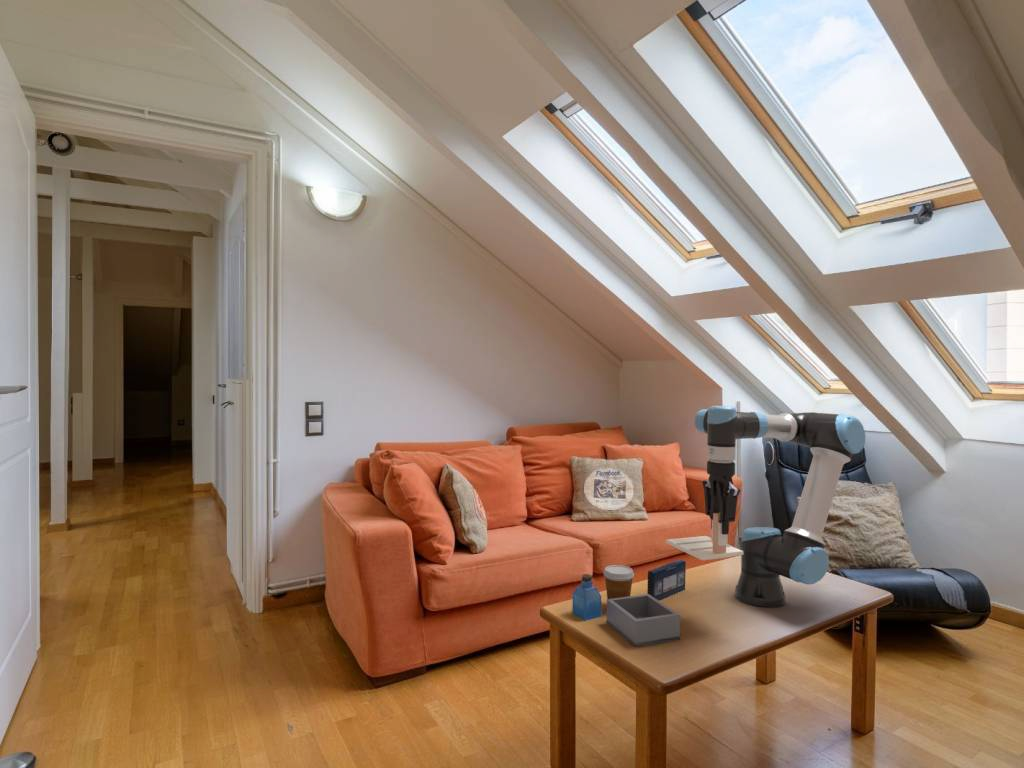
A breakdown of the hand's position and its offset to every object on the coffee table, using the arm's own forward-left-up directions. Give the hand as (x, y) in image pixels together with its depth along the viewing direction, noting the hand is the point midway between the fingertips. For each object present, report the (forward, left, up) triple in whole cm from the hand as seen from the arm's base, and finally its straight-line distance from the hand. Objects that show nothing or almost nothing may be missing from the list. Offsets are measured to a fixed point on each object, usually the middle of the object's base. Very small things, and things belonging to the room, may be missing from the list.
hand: (719, 543), depth 165 cm
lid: (0, -7, -3) cm, 8 cm away
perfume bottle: (+30, -23, -26) cm, 46 cm away
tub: (+20, -8, -26) cm, 33 cm away
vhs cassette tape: (-3, -29, -26) cm, 39 cm away
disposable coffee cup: (+18, -25, -26) cm, 40 cm away
